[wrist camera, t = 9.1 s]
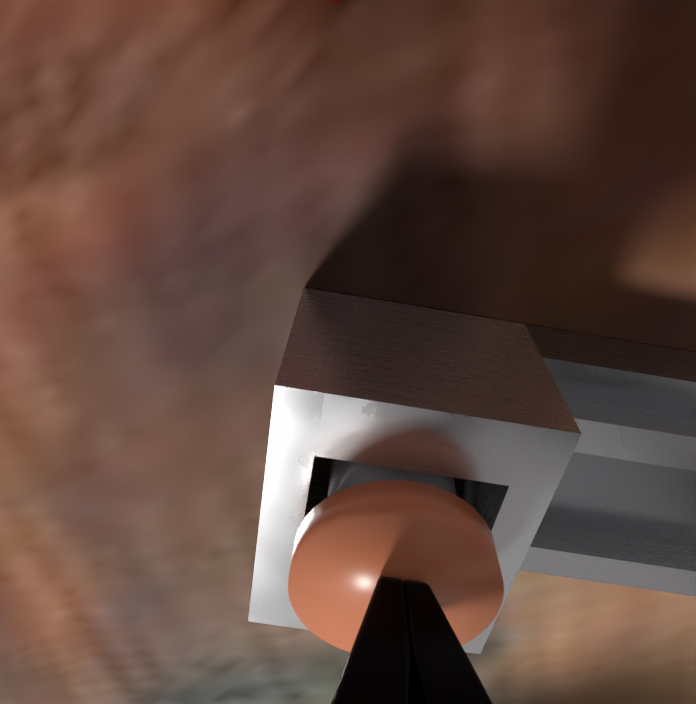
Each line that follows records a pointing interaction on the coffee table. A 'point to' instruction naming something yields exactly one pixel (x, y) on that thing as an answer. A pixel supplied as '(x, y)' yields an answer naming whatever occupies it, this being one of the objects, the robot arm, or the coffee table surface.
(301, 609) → the button
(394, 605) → the robot arm
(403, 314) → the rail
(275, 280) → the coffee table surface
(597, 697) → the coffee table surface
